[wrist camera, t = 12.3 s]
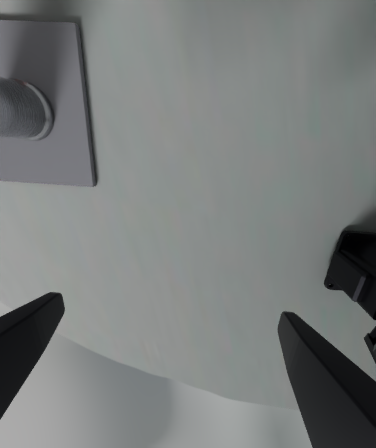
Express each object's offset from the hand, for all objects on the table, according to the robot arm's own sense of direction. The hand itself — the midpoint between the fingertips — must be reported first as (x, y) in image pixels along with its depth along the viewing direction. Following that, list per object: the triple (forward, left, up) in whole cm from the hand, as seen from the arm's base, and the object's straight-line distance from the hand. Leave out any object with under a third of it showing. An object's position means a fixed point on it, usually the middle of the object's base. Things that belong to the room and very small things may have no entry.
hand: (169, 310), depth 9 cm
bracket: (+14, -8, -13) cm, 21 cm away
